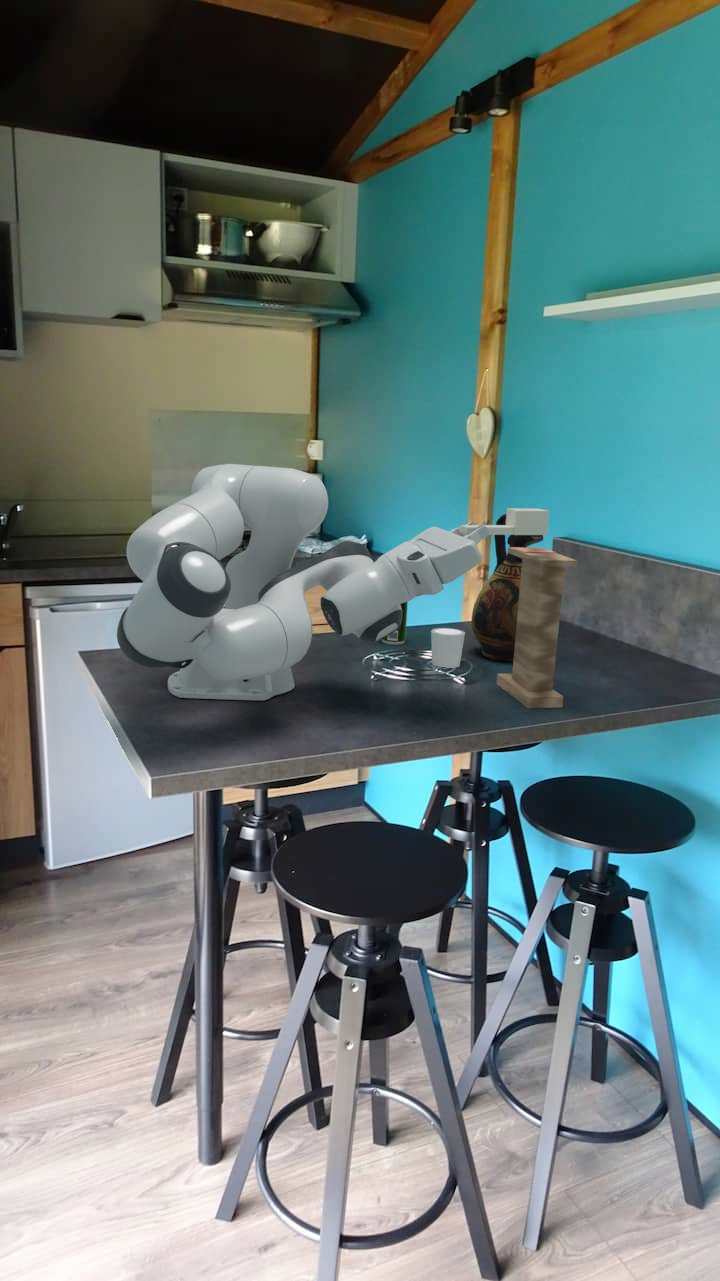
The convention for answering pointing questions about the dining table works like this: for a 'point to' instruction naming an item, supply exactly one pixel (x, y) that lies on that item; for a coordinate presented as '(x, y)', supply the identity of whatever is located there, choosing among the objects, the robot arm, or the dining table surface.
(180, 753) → the dining table surface
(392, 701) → the dining table surface
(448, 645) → the white cylinder
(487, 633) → the ceramic jug
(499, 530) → the white block with handle
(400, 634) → the beer can
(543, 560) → the wooden post with base
